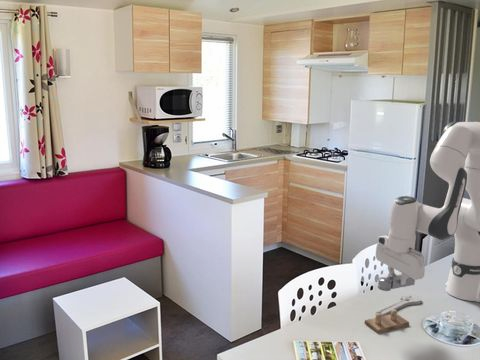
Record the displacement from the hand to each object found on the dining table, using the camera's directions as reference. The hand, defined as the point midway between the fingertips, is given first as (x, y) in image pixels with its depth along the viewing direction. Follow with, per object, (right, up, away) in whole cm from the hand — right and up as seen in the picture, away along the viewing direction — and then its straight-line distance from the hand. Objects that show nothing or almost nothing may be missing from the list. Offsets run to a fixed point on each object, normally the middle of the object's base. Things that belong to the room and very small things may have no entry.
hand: (397, 281), depth 162 cm
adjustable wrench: (+6, -14, +18) cm, 23 cm away
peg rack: (-2, -16, +4) cm, 17 cm away
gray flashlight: (-1, -2, 0) cm, 2 cm away
